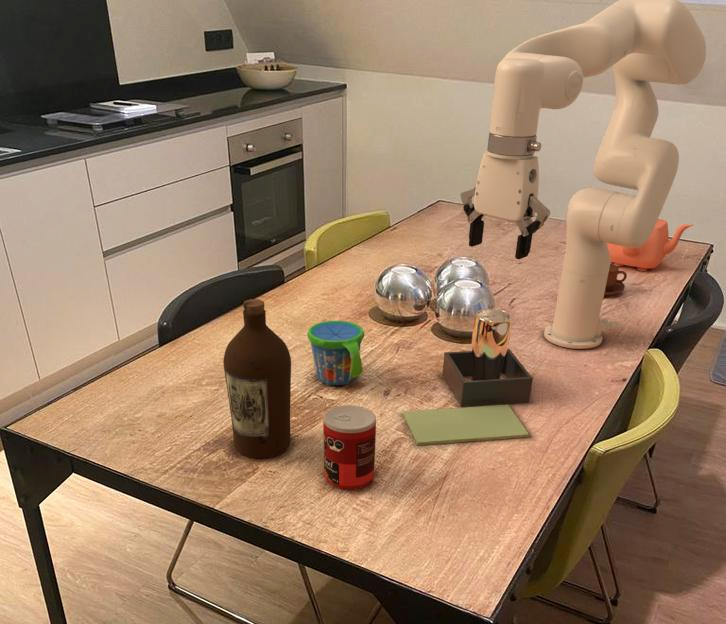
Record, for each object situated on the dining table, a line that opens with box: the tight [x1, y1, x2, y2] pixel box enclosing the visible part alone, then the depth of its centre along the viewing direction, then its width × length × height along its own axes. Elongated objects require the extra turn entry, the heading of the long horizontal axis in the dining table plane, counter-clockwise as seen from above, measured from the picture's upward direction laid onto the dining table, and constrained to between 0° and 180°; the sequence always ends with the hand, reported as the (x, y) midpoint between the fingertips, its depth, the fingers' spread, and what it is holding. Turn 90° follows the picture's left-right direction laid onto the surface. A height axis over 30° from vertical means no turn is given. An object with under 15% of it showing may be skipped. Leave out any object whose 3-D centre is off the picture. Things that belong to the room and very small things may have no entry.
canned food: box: [322, 404, 377, 491], centre depth 118 cm, size 8×8×11 cm
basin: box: [442, 348, 534, 408], centre depth 146 cm, size 13×13×5 cm
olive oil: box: [223, 298, 292, 459], centre depth 122 cm, size 11×11×25 cm
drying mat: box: [402, 404, 530, 446], centre depth 135 cm, size 20×11×1 cm, turn 100°
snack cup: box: [306, 320, 365, 386], centre depth 147 cm, size 16×10×10 cm
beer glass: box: [469, 308, 512, 381], centre depth 144 cm, size 7×7×15 cm
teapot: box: [606, 218, 694, 272], centre depth 209 cm, size 18×18×14 cm
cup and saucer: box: [604, 263, 628, 296], centre depth 193 cm, size 12×12×6 cm
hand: (497, 251), depth 133 cm, fingers open, 9 cm apart
